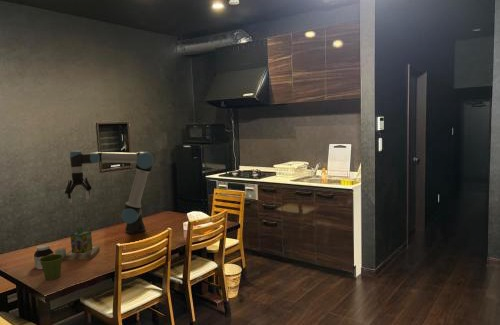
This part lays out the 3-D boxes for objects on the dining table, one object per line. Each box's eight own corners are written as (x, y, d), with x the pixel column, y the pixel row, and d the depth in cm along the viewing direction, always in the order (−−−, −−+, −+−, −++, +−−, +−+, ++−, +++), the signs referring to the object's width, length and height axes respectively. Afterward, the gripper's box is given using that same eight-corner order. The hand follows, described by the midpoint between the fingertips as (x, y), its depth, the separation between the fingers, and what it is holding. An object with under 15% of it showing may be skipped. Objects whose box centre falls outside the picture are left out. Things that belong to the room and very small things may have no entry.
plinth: (99, 250, 252) (99, 245, 251) (91, 258, 236) (91, 253, 235) (74, 252, 250) (74, 247, 250) (65, 260, 234) (64, 255, 234)
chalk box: (83, 253, 237) (81, 230, 235) (71, 252, 239) (69, 229, 238) (93, 248, 246) (91, 226, 244) (81, 247, 248) (79, 225, 247)
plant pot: (35, 280, 205) (33, 260, 203) (54, 272, 216) (52, 253, 214) (51, 283, 200) (49, 262, 199) (69, 274, 211) (68, 255, 210)
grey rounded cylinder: (68, 256, 241) (67, 247, 241) (64, 260, 235) (63, 250, 235) (58, 257, 241) (57, 248, 240) (54, 260, 235) (53, 251, 234)
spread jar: (50, 261, 234) (48, 243, 233) (58, 265, 227) (57, 246, 226) (29, 267, 225) (27, 248, 224) (37, 271, 218) (35, 252, 216)
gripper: (88, 170, 286) (90, 197, 288) (57, 174, 265) (60, 204, 267) (95, 170, 282) (97, 198, 285) (64, 174, 261) (67, 204, 263)
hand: (79, 201), depth 276 cm, fingers open, 13 cm apart
